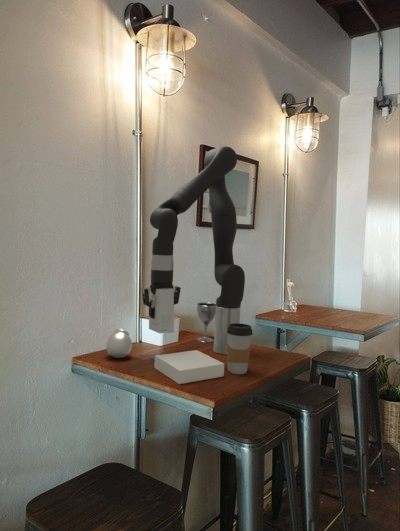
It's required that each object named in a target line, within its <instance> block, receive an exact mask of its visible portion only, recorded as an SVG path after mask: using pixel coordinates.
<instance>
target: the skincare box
mask: <svg viewBox="0 0 400 531" xmlns="http://www.w3.org/2000/svg"><path fill="white" fill-rule="evenodd" d="M151 295H152V298H155V296H156V301H155V306H154V308H155V318H154V319H152V318H150V316H149V315H148V330H151V331H152V332H153V331H154V332H155V333H158V334H167V333H174V332H175V305H174V289H172V288H160V289H156V293H155V295H153V294H152V292H151V291H150V293H149V301H150V297H151Z"/></svg>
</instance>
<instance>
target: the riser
mask: <svg viewBox="0 0 400 531" xmlns="http://www.w3.org/2000/svg"><path fill="white" fill-rule="evenodd" d="M154 369H156V370H157V371H159V372H160V373H162V374H163V375H164V376H166V377H168V378H169V379H171V380H172V381H174V382H176V383H177V384H179V385H182V384H187V383H193V382H199V381H204V380H205V381H206V380H210V379H216V378H221V377H224V375H225V374H224V373H225V363H223V362H222V361H220V360H218V359H216V358H214V357H211V356H209V355H207V354H206V353H204V352H201V351H200V350H198V349H194V350H188V351H187V350H186V351H181V352H180V351H179V352H172V353H163V354H156V355H154Z"/></svg>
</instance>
